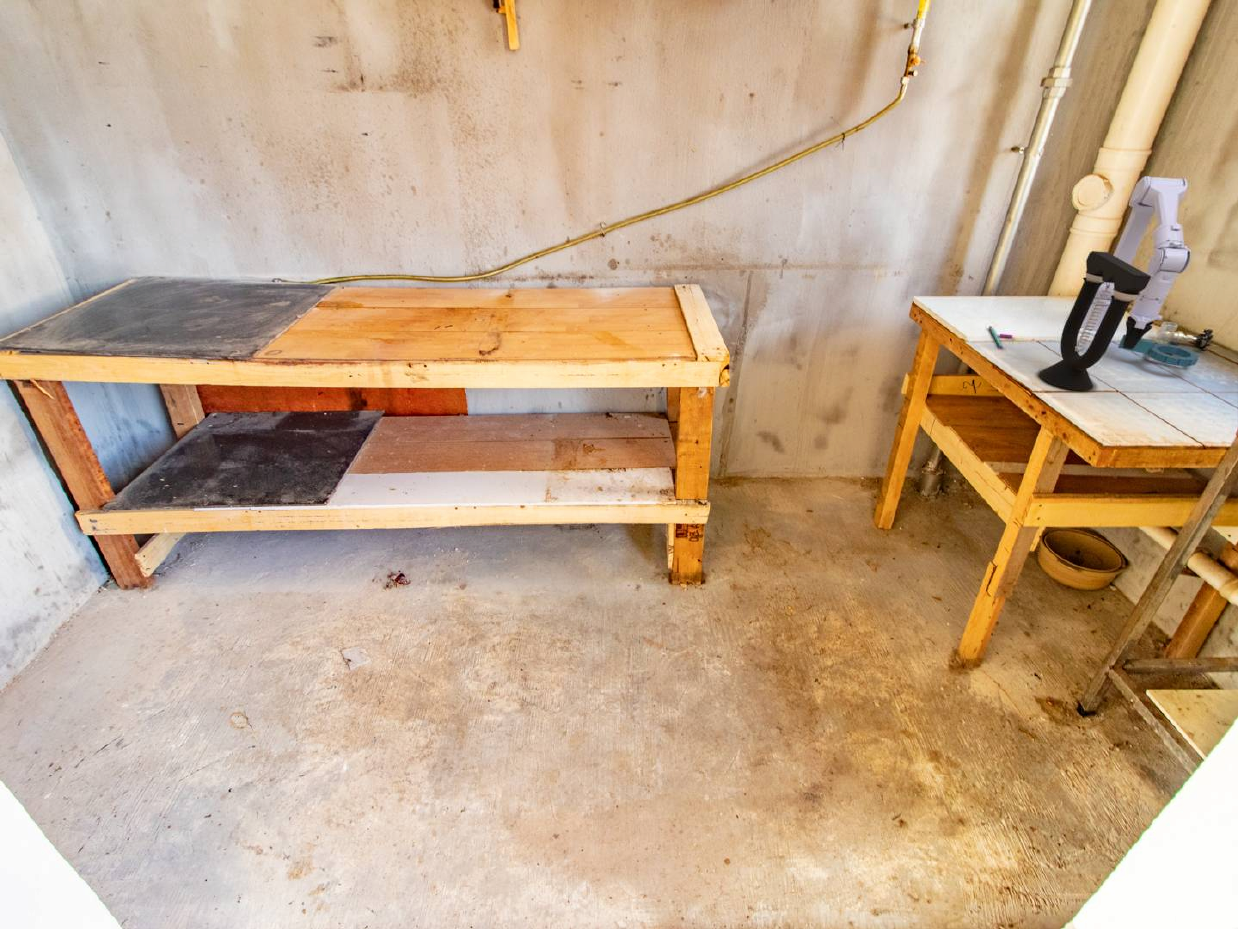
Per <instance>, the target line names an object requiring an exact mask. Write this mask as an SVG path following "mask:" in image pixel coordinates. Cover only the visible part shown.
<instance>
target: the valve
mask: <svg viewBox="0 0 1238 929" xmlns="http://www.w3.org/2000/svg"><path fill="white" fill-rule="evenodd" d="M1178 328H1179V324H1177V323H1175V322H1171V321H1163V322H1162V323H1161V325H1160V327H1159V329H1158V330H1157V331H1156V333H1155V335H1154V337H1155V338H1154V339H1153V341H1155V343H1156V344H1169V342H1170V340H1177V341H1179V343H1180V342H1181V341H1184V342H1187V343H1191V342H1192V341H1193V343H1194V346H1195V348H1197V349H1200V351H1201V352H1206V351H1207V347H1210V346H1211V344H1212V343H1211V340H1212V339H1213V338H1214V334H1212V333H1214V330H1213V329H1210V328H1208V329H1204V330H1203V333H1199V334H1198V335H1196V336H1194V335H1191V334H1186V335H1185V334H1184V332H1183V331H1177V329H1178Z"/></svg>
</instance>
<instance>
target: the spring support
mask: <svg viewBox="0 0 1238 929" xmlns="http://www.w3.org/2000/svg"><path fill="white" fill-rule="evenodd" d="M1113 255H1114V254H1111V253H1110V252H1107V251H1096V250H1092V251H1090V252H1089V253H1088V256H1087V257H1086V260H1085V263H1086V264H1085V267H1086V271H1085V277H1082V279H1083V283H1082V286H1081V287H1080V290H1079V292H1078V294H1077V296H1076V299H1075V301H1074V303H1073V305H1072V308H1071V310H1070V313H1069V315H1068V317H1067V319H1066V321H1065V323H1064V326H1063V329H1062V332H1061V336H1060V355H1061V358H1062V359H1061V360H1059V361H1057V362H1055V363H1054V364H1052V365H1050V366H1048V367H1046V368H1045V369H1042V370H1041V371H1039V374H1038V375H1039V377H1040V378H1041V379H1042V380H1044V381H1045V382H1047V383H1049V384H1052V385H1054V386H1055V387H1060V388H1063V389H1065V390H1066V389H1067V390H1072V391H1090V390H1092V389H1093V388H1094V384H1093V382H1092V379H1091V377H1090V374H1089V372H1088V369H1090V368H1091V367H1093V366H1094V365H1096V364H1097V363H1098V362H1099V361H1100V360H1101V359H1102V358H1103V357H1104V355H1105V353H1106V352H1107V350H1108V348H1109V346H1110V344H1111V343H1112V340H1113V338H1114V336H1115V334H1116V333H1117V331H1118V328H1119V326H1120V325H1121V322H1122V320H1123V318H1124V316H1125V314H1126V312H1127V310H1128V308H1129V306H1130V304H1131V303H1132V302H1134V300H1136V299H1137V297H1138V295H1140V293H1139V292H1141V291H1142V290H1144V289H1145V288H1146V286H1147V284H1148V282H1149V280H1150V278H1151V276H1149V275H1148V274H1146V272H1144V271H1142V270H1140V269H1139V268H1137V267H1135V266H1133V265H1132V264H1131V265H1129V264H1128V263H1126V262H1124V261H1122V260H1120V259H1119V258H1117V257H1115V256H1113ZM1104 282H1109V283H1114V295H1112V296H1111V299H1112V300H1111V302H1110V305H1109V307H1108V309H1107V311H1106V313H1105V315H1104V317H1103V319H1102V322H1101V324H1100V326H1099V328H1098V330H1097V331H1095V335H1094V336H1093V338H1092V341H1091V342H1090V345H1089V347H1087V350H1086V351H1085V352H1084V353H1083V354H1082V355H1080V354H1079V352H1083V351H1084V348H1086V346H1085V345H1087V342H1089V338H1091V337H1090V335H1092V332H1094V331H1093V330H1092V329H1088V328H1086V327H1092V328H1094V326H1091V325H1088V323H1091V324H1096V323H1094V322H1091V321H1089V320H1094V321H1098V320H1097V319H1093V318H1091V317H1098V318H1099V316H1097V315H1093V313H1097V314H1101V313H1100V312H1096V311H1094V310H1100V311H1102V310H1103V309H1099V308H1097V307H1096V306H1100V307H1104V306H1103V305H1099V304H1098V303H1104V304H1106V302H1102V301H1100V300H1099V299H1103V300H1108V299H1107V298H1103V297H1101V296H1108V297H1109V295H1106V294H1103V293H1102V292H1108V293H1111V292H1110V291H1108V290H1107V288H1108V289H1109V287H1110V284H1109V285H1107V283H1106V289H1105V290H1106V291H1101V292H1100V293H1101V295H1099V298H1098V299H1097V301H1098V302H1096V305H1095V306H1094V309H1092V311H1093V312H1091V316H1089V318H1090V319H1088V322H1087V323H1086V325H1087V326H1085V327H1084V328H1085V329H1084V328H1081V326H1082V324H1083V321H1084V319H1085V317H1086V315H1087V313H1088V311H1089V309H1090V306H1091V304H1092V302H1093V300H1094V298H1095V296H1096V293H1097V291H1098V289H1099V287H1100V286H1101V285H1102V284H1103V283H1104ZM1081 329H1083V330H1082V332H1081V335H1080V336H1079V333H1080V330H1081ZM1078 337H1079V338H1078ZM1081 344H1082V345H1081ZM1078 347H1080V348H1081V349H1078Z"/></svg>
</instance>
